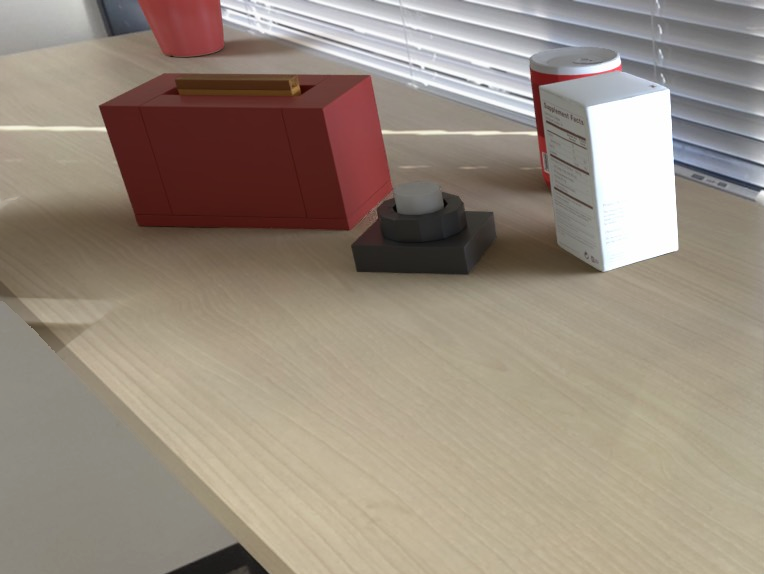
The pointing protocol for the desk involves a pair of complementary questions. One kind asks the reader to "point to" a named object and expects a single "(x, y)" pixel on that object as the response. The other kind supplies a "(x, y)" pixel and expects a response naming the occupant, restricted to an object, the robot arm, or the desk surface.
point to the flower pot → (185, 26)
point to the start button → (418, 198)
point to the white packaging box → (611, 168)
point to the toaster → (251, 154)
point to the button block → (425, 240)
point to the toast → (238, 85)
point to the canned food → (565, 79)
